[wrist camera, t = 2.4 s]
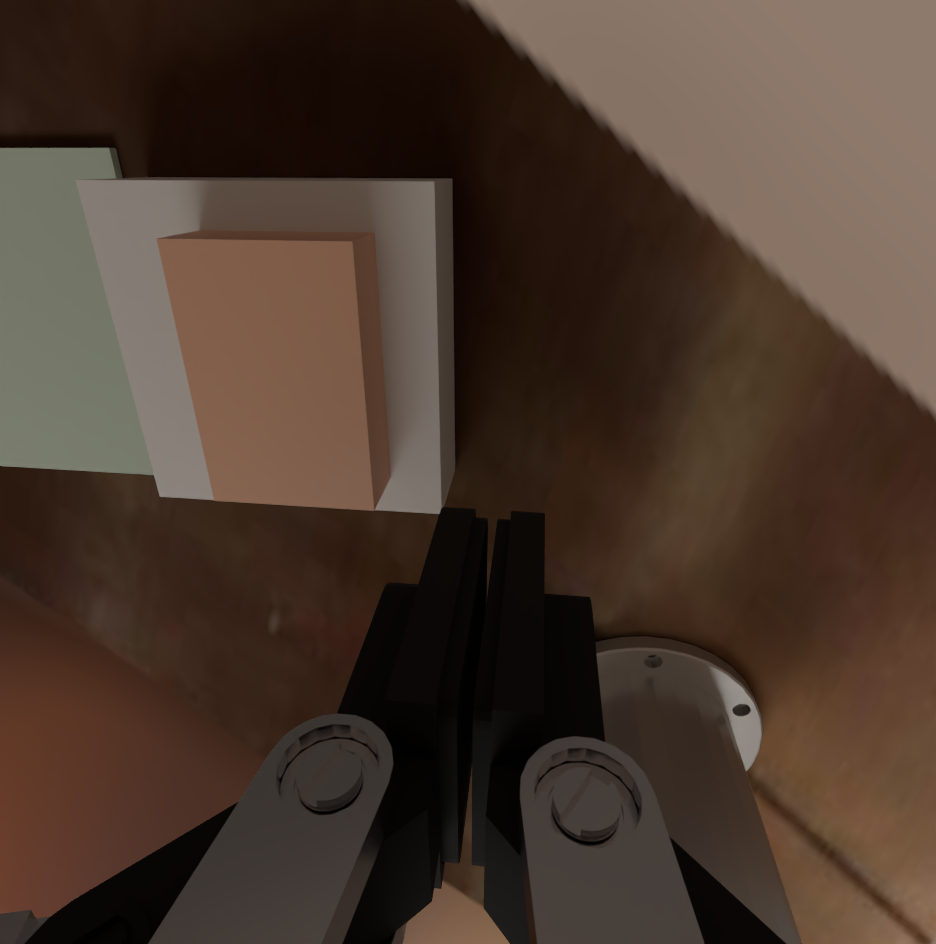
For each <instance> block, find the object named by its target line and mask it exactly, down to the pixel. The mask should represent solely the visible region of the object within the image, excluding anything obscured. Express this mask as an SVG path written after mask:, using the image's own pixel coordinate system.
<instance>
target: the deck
mask: <svg viewBox="0 0 936 944" xmlns="http://www.w3.org/2000/svg"><path fill="white" fill-rule="evenodd" d="M76 184H77V188H78V192H79V195H80V199H81V203H82V207H83V210H84V214H85V218H86V222H87V225H88V229H89V233H90V237H91V240H92V244H93V248H94V252H95V255H96V259H97V263H98V267H99V270H100V274H101V278H102V282H103V285H104V289H105V293H106V297H107V300H108V304H109V308H110V312H111V315H112V319H113V323H114V327H115V330H116V334H117V338H118V342H119V345H120V349H121V353H122V357H123V360H124V364H125V368H126V372H127V375H128V379H129V383H130V387H131V390H132V394H133V398H134V402H135V405H136V409H137V413H138V417H139V420H140V424H141V428H142V432H143V435H144V439H145V443H146V447H147V450H148V454H149V458H150V462H151V465H152V469H153V473H154V477H155V480H156V484H157V488H158V492H159V495H160V497H175V498H191V499H207V500H214V498H213V493H212V489H211V484H210V479H209V475H208V470H207V466H206V461H205V457H204V452H203V448H202V443H201V439H200V434H199V430H198V425H197V420H196V416H195V411H194V407H193V402H192V398H191V393H190V389H189V384H188V380H187V375H186V371H185V366H184V361H183V357H182V352H181V348H180V343H179V339H178V334H177V330H176V325H175V321H174V316H173V312H172V307H171V302H170V298H169V293H168V289H167V284H166V280H165V275H164V271H163V266H162V262H161V257H160V253H159V248H158V243H157V238H162V237H167V236H172V235H177V234H182V233H188V232H193V231H198V230H219V231H293V232H366V233H375V248H376V263H377V279H378V294H379V309H380V325H381V340H382V356H383V371H384V386H385V402H386V417H387V432H388V448H389V463H390V480H389V482H388V484H387V486H386V488H385V490H384V492H383V494H382V496H381V498H380V500H379V502H378V504H377V506H376V508H375V510H383V511H399V512H415V513H431V514H440V511H441V508H442V507H444V505H445V501H446V498H447V495H448V491H449V488H450V485H451V481H452V478H453V475H454V471H455V399H454V296H453V192H452V179H448V178H202V177H141V178H114V179H86V180H76Z"/></svg>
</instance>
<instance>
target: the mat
mask: <svg viewBox="0 0 936 944" xmlns="http://www.w3.org/2000/svg"><path fill="white" fill-rule="evenodd" d="M114 178H123V177H122V172H121V168H120V164H119V160H118V155H117V151H116V148H0V466H11V467H28V468H45V469H62V470H79V471H96V472H113V473H130V474H147V475H154V473H153V469H152V465H151V462H150V458H149V454H148V450H147V447H146V443H145V439H144V435H143V432H142V428H141V424H140V420H139V417H138V413H137V409H136V405H135V402H134V398H133V394H132V390H131V387H130V383H129V379H128V375H127V372H126V368H125V364H124V360H123V357H122V353H121V349H120V345H119V342H118V338H117V334H116V330H115V327H114V323H113V319H112V315H111V312H110V308H109V304H108V300H107V297H106V293H105V289H104V285H103V282H102V278H101V274H100V270H99V267H98V263H97V259H96V255H95V252H94V248H93V244H92V240H91V237H90V233H89V229H88V225H87V222H86V218H85V214H84V210H83V207H82V203H81V199H80V195H79V192H78V188H77V184H76V180H86V179H114Z"/></svg>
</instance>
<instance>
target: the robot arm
mask: <svg viewBox="0 0 936 944" xmlns="http://www.w3.org/2000/svg"><path fill="white" fill-rule="evenodd" d="M487 542H488V519H487V518H476V511H475V509H467V508H450V507H442V508H441V511H440V514H439V517H438V521H437V524H436V528H435V531H434V534H433V538H432V541H431V544H430V548H429V551H428V554H427V558H426V561H425V565H424V568H423V571H422V575H421V578H420V581H419V585H417V584H403V583H390V582H389V583H388V584H387V585H386V586H385V588H384V590H383V592H382V595H381V598H380V600H379V603H378V606H377V608H376V611H375V614H374V616H373V619H372V622H371V624H370V627H369V630H368V632H367V635H366V638H365V641H364V643H363V646H362V649H361V651H360V654H359V657H358V659H357V662H356V665H355V667H354V670H353V673H352V675H351V678H350V681H349V683H348V686H347V689H346V691H345V694H344V697H343V699H342V702H341V705H340V707H339V710H338V713H337V714H332V715H326V716H320V717H317V718H314V719H312V720H309V721H307V722H305V723H302V724H300V725H299V726H297V727H296V728H295V729H293V730H292V731H290V732H289V733H288V734H286V735H285V736H284V737H283V738H282V739H281V740H280V741H279V743H278V744H277V745H276V746H275V747H274V748H273V750H272V751H271V752H270V754H269V755H268V757H267V758H266V760H265V761H264V763H263V765H262V766H261V768H260V769H259V771H258V773H257V774H256V776H255V777H254V779H253V780H252V782H251V784H250V785H249V787H248V788H247V790H246V791H245V793H244V794H243V796H242V797H241V799H240V801H239V802H238V803H236V804H234V805H232V806H231V807H229V808H227V809H226V810H224V811H222V812H221V813H219V814H217V815H216V816H214V817H212V818H211V819H209V820H207V821H205V822H204V823H202V824H200V825H199V826H197V827H195V828H194V829H192V830H190V831H189V832H187V833H185V834H184V835H182V836H180V837H178V838H177V839H175V840H174V841H172V842H170V843H169V844H167V845H165V846H164V847H162V848H160V849H158V850H157V851H155V852H153V853H152V854H150V855H148V856H147V857H145V858H143V859H142V860H140V861H138V862H136V863H135V864H133V865H131V866H130V867H128V868H126V869H125V870H123V871H121V872H120V873H118V874H116V875H115V876H113V877H111V878H110V879H108V880H106V881H105V882H103V883H101V884H99V885H98V886H96V887H94V888H93V889H91V890H89V891H88V892H86V893H85V894H83V895H81V896H79V897H78V898H76V899H74V900H73V901H71V902H70V903H69V904H67V905H66V906H65V907H63V908H62V909H60V910H59V911H58V912H57V913H55V914H54V915H52V916H51V917H45V918H38V919H36V917H35V916H34V914H33V913H32V911H31V910H27V911H19V912H11V913H4V914H0V944H402V943H403V940H404V935H405V929H406V924H407V922H408V921H409V920H410V919H411V918H412V917H413V916H415V915H416V914H417V913H418V912H420V911H421V910H422V909H423V908H424V907H426V906H427V905H428V904H429V903H430V902H431V901H432V897H433V890H434V888H439V889H441V886H442V879H443V872H444V865H445V862H450V863H459V862H460V857H461V850H462V842H463V833H464V825H465V817H466V809H467V801H468V792H469V784H470V776H471V768H472V865H475V866H484V867H485V873H484V909H485V910H486V912H487V913H488V914H489V916H490V917H491V918H492V920H493V921H494V922H495V924H496V925H497V926H498V928H499V929H500V931H501V932H502V933H503V935H504V936H505V937H506V939H507V940H508V941H509V943H510V944H802V942H801V939H800V936H799V933H798V929H797V926H796V923H795V920H794V917H793V914H792V911H791V908H790V905H789V902H788V899H787V896H786V893H785V890H784V886H783V883H782V880H781V877H780V874H779V871H778V868H777V865H776V862H775V859H774V856H773V853H772V850H771V846H770V843H769V840H768V837H767V834H766V831H765V828H764V825H763V822H762V819H761V816H760V813H759V810H758V806H757V803H756V800H755V797H754V794H753V791H752V788H751V785H750V782H749V779H748V776H747V773H746V771H747V770H748V769H749V768H750V767H751V765H752V764H753V763H754V761H755V758H756V756H757V754H758V752H759V750H760V748H761V742H762V737H763V726H762V717H761V714H760V711H759V708H758V706H757V703H756V700H755V698H754V695H753V693H752V692H751V690H750V688H749V687H748V685H747V683H746V681H745V680H744V679H743V678H742V677H741V676H740V675H739V674H738V673H737V672H736V671H735V670H734V669H733V667H731V666H730V665H729V664H727V663H726V662H724V661H723V660H721V659H720V658H718V657H717V656H715V655H714V654H712V653H709V652H707V651H705V650H703V649H701V648H698V647H696V646H694V645H690V644H687V643H683V642H679V641H676V640H672V639H665V638H656V637H648V636H642V637H619V638H614V639H608V640H602V641H597V642H595V634H594V624H593V614H592V605H591V600H590V597H581V596H568V595H554V594H544V550H545V513H534V512H518V511H511V520H504V519H498V521H497V528H496V536H495V543H494V551H493V558H492V566H491V573H490V581H489V588H488V596H487ZM486 597H487V603H486Z"/></svg>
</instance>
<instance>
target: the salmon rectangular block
mask: <svg viewBox="0 0 936 944" xmlns="http://www.w3.org/2000/svg"><path fill="white" fill-rule="evenodd" d="M157 243H158V248H159V253H160V257H161V262H162V266H163V271H164V275H165V280H166V284H167V289H168V293H169V298H170V302H171V307H172V312H173V316H174V321H175V325H176V330H177V334H178V339H179V343H180V348H181V352H182V357H183V361H184V366H185V371H186V375H187V380H188V384H189V389H190V393H191V398H192V402H193V407H194V411H195V416H196V420H197V425H198V430H199V434H200V439H201V443H202V448H203V452H204V457H205V461H206V466H207V470H208V475H209V479H210V484H211V489H212V493H213V498H214V501H227V502H243V503H259V504H275V505H291V506H307V507H323V508H339V509H355V510H371V511H374V510H375V508H376V506H377V504H378V502H379V500H380V498H381V496H382V494H383V492H384V490H385V488H386V486H387V484H388V482H389V480H390V463H389V448H388V432H387V417H386V402H385V386H384V371H383V356H382V340H381V325H380V309H379V294H378V279H377V263H376V248H375V233H366V232H293V231H219V230H198V231H193V232H188V233H182V234H177V235H172V236H167V237H162V238H157Z"/></svg>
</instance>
